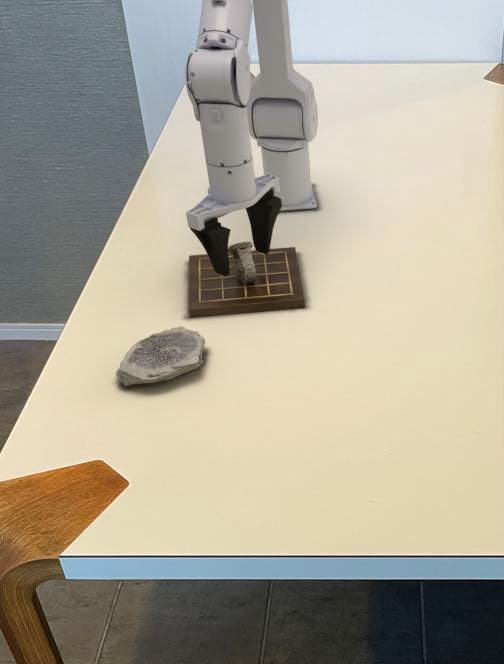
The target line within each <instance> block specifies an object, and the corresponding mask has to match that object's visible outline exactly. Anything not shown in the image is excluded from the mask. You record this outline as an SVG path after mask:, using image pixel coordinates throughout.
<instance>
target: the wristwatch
mask: <svg viewBox="0 0 504 664" xmlns="http://www.w3.org/2000/svg"><path fill="white" fill-rule="evenodd" d="M252 248H254V244H253V242H251V241H242V242H238V243H234V244H231V245H228V252H231V253H232V255H233V259H234V263H235V266H236V271H237V273H238V275H239V278H240V280H241V281H242V282H243V283H244V284H247V283H252V282H255V281H256V269H255V265H254V262H253V259H252V254H251V250H252Z"/></svg>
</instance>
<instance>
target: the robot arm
mask: <svg viewBox="0 0 504 664" xmlns="http://www.w3.org/2000/svg"><path fill="white" fill-rule="evenodd" d="M201 3H202V4H201V11H200V19H199V27H198V33H197V41H196V48H194V51H193V52H190V53H189V54H188V55H187V57H186V60H185V68H184V75H185V76H184V77H185V88H186V93H187V96H188V98H189V100H190V102H191V105H192V108H193V115H194V118H195V120H196V121H197V122H199V126H200V133H201V140H202V145H203V151H204V159H205V166H206V173H207V178H208V185H209V187H208V188H207V195H206V196H205V197H204V198H203V199H202V200H200V201H199V202H198V203H197V204H196V205H195V206H193V207H192V208H190V209H188V210H187V211H186V212H185V215H186V221H187V227H188V228H189V230H190V231H191V232H192V233H193V234H194V235H195V237H196V238H197V240H198V241H199V242H200V244H201V245H202V247H203V249H204V250H205V252H206V254H208V256H209V259H210V261H211V263H212V266H213V268H214V271H215V272H216V273H218V274H220V275H223V276H227V275H229V269H230V268H229V258H228V248H229V240H230V235H231V231H232V230H231V229H230V228H228V227H226V226H223V225H222V222H220V221H219V219H221V218H223V217H225V216H227V215H229V214H231V213H233V212H236V211H240V210H244V209H245V211H246V214H247V217H248V221H249V225H250V230H251V237H252V244H253V248H254V250H256V251H259V252H261V253H264V254H268V253H269V251H270V249H271V243H272V237H273V232H274V229H275V223H276V221H277V218H278V216H279V213H280V212H285V211H297V210H309V209H310V210H311V209H316V208H317V201H316V196H315V192H314V189H313V184H312V177H311V176H312V175H311V163H310V161H311V160H310V150H309V149H310V148H309V147H310V146H309V143H312V142H313V140H314V139H315V138H316V136H317V134H318V126H319V111H318V103H317V100H316V96H315V88H314V86H313V83H312V81H310V80H309V79H307V78H306V77H305V76H304V75H302V74H301V73H299V72H298V71H296V70H295V69H294V64H293V52H292V38H291V27H290V15H289V14H290V13H289V3H288V0H202V2H201ZM252 18H253V19H254V27H255V36H256V46H257V52H258V53H257V55H258V64H259V73H258V74H257V75H255V76H254V77H253V78H251V77H252V75H251V56H250V53H249V50H248V48H249V41H250V33H251V26H252ZM251 139H253V140H254V141H255V140H256V146H257V147H260V151H261V160H262V170H263V175H261V176H257V177H255V170H254V161H253V160H254V159H253V151H252V150H253V149H252V143H251Z"/></svg>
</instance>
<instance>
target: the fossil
mask: <svg viewBox="0 0 504 664" xmlns="http://www.w3.org/2000/svg"><path fill="white" fill-rule="evenodd" d="M205 345H206V339H205V337H204V336H202V335H201V334H200V333H199V332H198V331H195V330H190V329H188V328H186V327H185V326H177V327H171V328H170V329H165V330H164V331H161V332H157V333H152V334H150V335H149V336H148V337H146V338H144V339H140V340H139V341H137V342H135V343H134V344H133V345H132V346H131V347H130V348H129V350H128V351H127V352H126V353H125V354H124V357H123V359H122V361H121V362H120V365H119V367H118V369H117V370H116V374H115V376H116V378H117V379H118V380H119V381H120V383H122V384H123V386H125V387H130V386H132V385H139V384H140V385H141V384H155V383H158V382H167V381H171V380H173V379H176V378H177V377H179V376H181V375H184V374H187V373H189V372H191V371H195V370H197V369H198V368H199V367H201V366H203V364H204V360H203V354H204V353H205V352H204V351H205Z"/></svg>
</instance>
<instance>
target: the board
mask: <svg viewBox="0 0 504 664" xmlns="http://www.w3.org/2000/svg"><path fill="white" fill-rule="evenodd" d="M251 254H252V259H253V262H254V265H255V269H256V281H255V282H252V283H247V284H244V283H243V282H242V281H241V280H240V278H239V275H238V273H237V271H236V266H235V263H234V259H233V255H232V253H231V252H228V258H229V268H230V269H229V275H227V276H223V275H220V274H218V273H216V272H215V271H214V268H213V266H212V263H211V261H210V259H209V256H208V254H207V253H205V254H193V255H192V254H191V255H190V254H189V255H188V297H187V298H188V301H187V303H188V305H187V308H188V309H187V310H188V315H189V318H197V317H210V316H212V317H213V316H221V315H223V316H224V315H233V314H234V315H235V314H243V313H244V314H245V313H256V312H267V311H279V310H289V309H290V310H291V309H302V308H306V301H305V294H304V289H303V288H304V287H303V284H302V278H301V271H300V267H299V262H298V256H297V255H298V254H297V250H296V246H292V247H291V246H290V247H289V246H287V247H278V248H270V251H269V253H268V254H264V253H261V252H259V251H256V250H255V249H254V250H253V249H251Z"/></svg>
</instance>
